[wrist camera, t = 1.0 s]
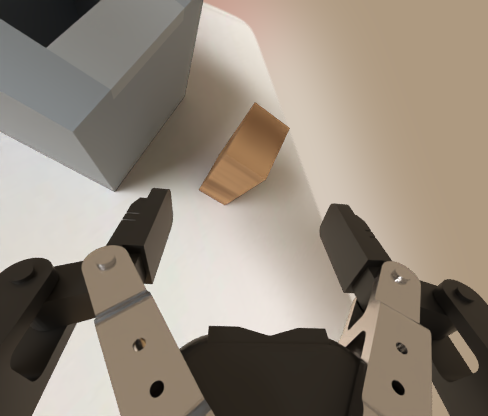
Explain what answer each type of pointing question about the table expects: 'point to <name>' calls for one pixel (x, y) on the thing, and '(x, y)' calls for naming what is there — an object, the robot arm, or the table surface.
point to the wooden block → (246, 156)
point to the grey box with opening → (93, 77)
